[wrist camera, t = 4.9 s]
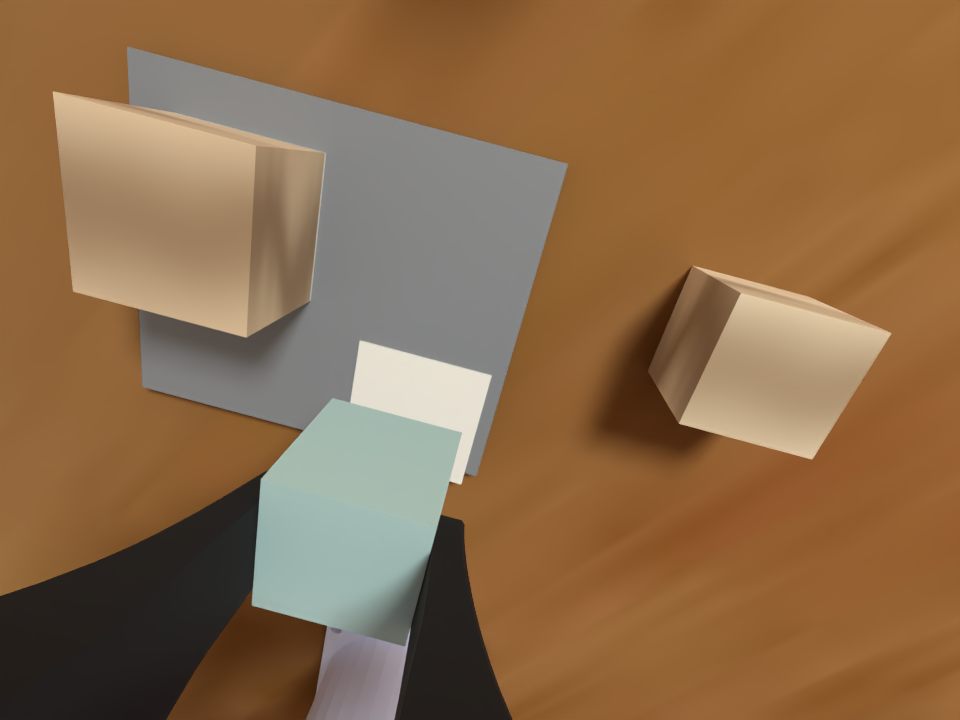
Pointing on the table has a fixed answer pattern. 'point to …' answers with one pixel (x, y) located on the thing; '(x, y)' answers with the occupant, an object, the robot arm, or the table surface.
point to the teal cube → (352, 520)
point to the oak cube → (186, 214)
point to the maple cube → (760, 362)
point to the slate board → (368, 266)
